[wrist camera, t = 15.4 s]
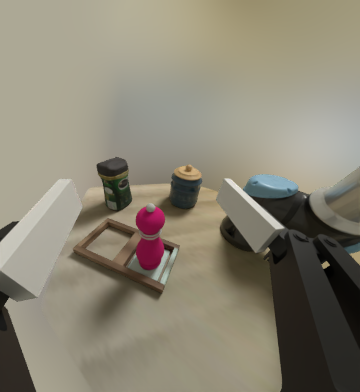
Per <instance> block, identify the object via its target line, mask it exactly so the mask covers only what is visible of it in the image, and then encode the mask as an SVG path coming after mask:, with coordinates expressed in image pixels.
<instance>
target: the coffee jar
mask: <svg viewBox="0 0 360 392" xmlns="http://www.w3.org/2000/svg"><path fill="white" fill-rule="evenodd" d="M97 170H98V175H99V176H100V177H101V179H102V182H103V187H104V194H105V202H106V206H107V207H108V208H110V209H112V210H121V209H123V208H124V207H126V206H127V205H128V204H129V203H130V202H131V201H132V196H131V192H130V187H129V182H128V166H127V162H126V161H125V160H124V159H122V158H118V157H115V158H113V159H109V160H106V161H104V162H101V163H98V164H97Z"/></svg>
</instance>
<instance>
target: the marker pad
mask: <svg viewBox="0 0 360 392" xmlns="http://www.w3.org/2000/svg"><path fill="white" fill-rule="evenodd" d="M169 253H170V251H168V250H165V249H164V254H163V257H162V259H161V263H160V265H159V266H158V267H157V268H155V269H153V270H145V269H143V268H142V267H141V266H140V264H139V260H138V259H137V256H136V255H135V257H134V258H133V260H132V261H131V263H130V264H129V266H128V267H127V268H129V269H131V270H133V271H135V272H138V273H140V274H142V275H144V276H146V277H149V278H151V279H153V280H155V281H158V278H159V276H160V274H161V271H162V269H163V267H164V265H165V262H166V260H167V258H168V255H169Z"/></svg>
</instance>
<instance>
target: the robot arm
mask: <svg viewBox="0 0 360 392" xmlns="http://www.w3.org/2000/svg"><path fill="white" fill-rule="evenodd" d="M216 201H217V202H218V203H219V205H220V206H221V207H222V209H223V210H224V211H225V213H226V214H227V216H226V217H225V218H224V219H223V221H222V223H221V232H222V234H223V236H224V237H225V238H226V239H227V240H228V241H229V242H230V243H231V244H232V245H234V246H235V247H237V248H239V249H242V250H245V251H254V252H255V253H259V252H264V251H265V250H266V248H267V247H269V249H270V251H269V252H268V253H267V254H266V255H265V256H264V260H265V259H266V258H267V257H269V259H268V260H267V261H269V263H270V272H271V281H272V290H273V300H274V309H275V318H276V327H277V336H278V346H279V355H280V364H281V373H282V389H281V391H280V392H360V265H359V264H358V263H357V262H356V261H355V260H354V259H353V258H352V257H351V256H350V255H349V254H351V253H355V252H358V251H360V167H359V168H357V169H356V170H355V171H353V172H352V173H351V174H349V175H348V176H346V177H345V178H344V179H342V180H341V181H340V182H338V183H337V184H335V185H334V186H333V187H322V188H319V189H316V190H315V191H314V192H312V193H311V194H310V195H309V194H306V193H303V192H300V191H298V185H297V184H296V183H294V182H293V181H289V180H288V179H286V178H283V177H279V176H274V175H267V174H262V175H255V176H253V177H251V178H250V179H249V181H248V182H247V184H246V186H245V187H244V188H243V190H242V189H241V188H240V187H238V185H237V184H235V183H234V182H233V181H232V180H231V179H223V182H222V184H221V187H220V190H219V192H218V195H217V198H216ZM82 207H83V206H82V204H81V201H80V199H79V196H78V194H77V191H76V188H75V186H74V183H73V181H72V179H59V180H58V181H57V182H56V183H55V184H54V186H52V188H51V189H50V190H49V191H48V192H47V193H46V194H45V195H44V196H43V197H42V198H41V199H40V200H39V202H37V204H36V205H35V206H34V207H33V208H32V209H31V210H30V211H29V212H28V213H27V214H26V215H25V216H24V217H23V218H22V219H21V221H17V222H12V223H10V224H9V225H7V226H5V227H4V228H2V229H1V230H0V392H36V390H35V387H34V384H33V381H32V379H31V376H30V373H29V370H28V367H27V364H26V362H25V358H24V356H23V353H22V350H21V347H20V344H19V342H18V338H17V336H16V333H15V330H14V327H13V324H12V322H11V318H10V316H9V313H8V310H7V309H6V308H5V307H4V305H5V303H6V302H7V300H8V298H9V297H10V298H11V299H13V300H15V301H17V302H18V301H23V300H28V299H33V298H37V297H38V296H39V294H40V292H41V290H42V288H43V286H44V284H45V282H46V280H47V278H48V276H49V274H50V272H51V270H52V268H53V266H54V264H55V262H56V260H57V258H58V256H59V254H60V252H61V250H62V248H63V246H64V244H65V242H66V240H67V238H68V236H69V234H70V232H71V230H72V228H73V226H74V224H75V222H76V220H77V218H78V216H79V214H80V211H81V209H82ZM325 261H327V262H328V263H329V264H330V266H328V267H327V268H325V269H323V268H322V265H321V264H323V263H324V262H325Z"/></svg>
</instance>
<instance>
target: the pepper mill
mask: <svg viewBox="0 0 360 392" xmlns="http://www.w3.org/2000/svg"><path fill="white" fill-rule="evenodd" d="M164 223H165V216H164V213H163V212H162V210H161V209H159V208H158V207H155V205H154V204H152V203H150V204H148V205H147V206H146V207H144V208H142V209H141V210H140V211H139V212H138V214H137V216H136V225H137V227H138V229H139V234H140V236H141V240H140V241H139V242H138V245H137V248H136V256H137V259H138V260H139V264H140V266H141V267H142V268H143V269H145V270H153V269H155V268H157V267H158V266H159V265H160V263H161V259H162V257H163V254H164V245H163V242H162V240H161V239H160V238H159V236H160V234H161V232H162V227H163V226H164Z"/></svg>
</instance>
